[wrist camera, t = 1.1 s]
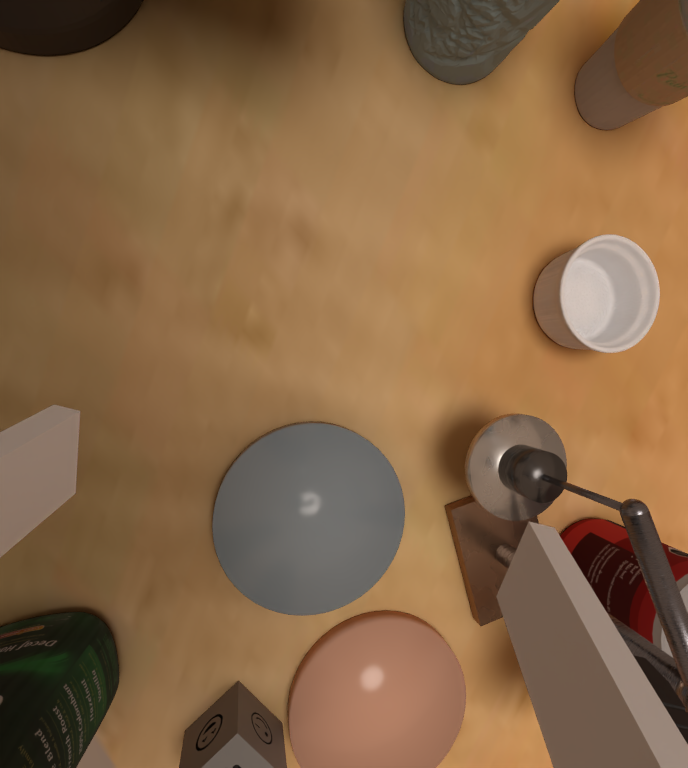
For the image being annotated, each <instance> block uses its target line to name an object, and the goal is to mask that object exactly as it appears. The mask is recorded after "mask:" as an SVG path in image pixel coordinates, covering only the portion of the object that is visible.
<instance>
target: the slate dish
mask: <svg viewBox="0 0 688 768" xmlns="http://www.w3.org/2000/svg"><path fill="white" fill-rule="evenodd" d="M404 518H405V508H404V498H403V493H402V489H401V486H400V483H399V480H398V477H397V475H396V473H395V471H394V469H393V467H392V466H391V464H390V463H389V461H388V460H387V458H386V457H385V456H384V455H383V454H382V453H381V452H380V451H379V449H377V448H376V447H375V446H374V445H373V444H372V443H370V442H369V441H368V440H366V439H365V438H363V437H361V436H360V435H358V434H357V433H355V432H353V431H351V430H349V429H347V428H344V427H341V426H338V425H335V424H331V423H325V422H300V423H294V424H290V425H285V426H282V427H280V428H277V429H274V430H272V431H270V432H268V433H266V434H264V435H263V436H261V437H259V438H258V439H257V440H255V441H254V442H252V443H251V444H250V445H249V446H248V447H247V448H246V449H244V450H243V451H242V452H241V453H240V455H239V456H238V457H237V458H236V459H235V460H234V462H233V463H232V465H231V466H230V468H229V469H228V471H227V472H226V474H225V476H224V479H223V481H222V483H221V485H220V488H219V491H218V494H217V498H216V502H215V508H214V513H213V528H212V529H213V540H214V545H215V549H216V554H217V556H218V559H219V561H220V564H221V566H222V568H223V570H224V571H225V573H226V575H227V577H228V578H229V579H230V581H231V582H232V583H233V584H234V586H235V587H236V588H237V589H238V590H239V591H240V592H241V593H242V594H243V595H245V596H246V597H247V598H249V599H250V600H252V601H253V602H255V603H257V604H258V605H260V606H262V607H264V608H267V609H269V610H272V611H275V612H279V613H284V614H288V615H315V614H320V613H326V612H329V611H332V610H335V609H338V608H341V607H343V606H345V605H347V604H349V603H351V602H353V601H354V600H356V599H357V598H359V597H361V596H362V595H363V594H364V593H366V592H367V591H368V590H369V589H371V588H372V587H373V586H374V585H375V583H376V582H377V581H378V580H379V579H380V578H381V577H382V575H383V574H384V573H385V572H386V570H387V569H388V567H389V565H390V564H391V562H392V561H393V559H394V556H395V554H396V552H397V550H398V547H399V544H400V541H401V538H402V533H403V528H404Z"/></svg>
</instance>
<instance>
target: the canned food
mask: <svg viewBox="0 0 688 768" xmlns="http://www.w3.org/2000/svg"><path fill="white" fill-rule="evenodd" d="M560 537H561V539H562V540H563V542H564V544H565V545H566V547H567V549H568V550H569V552H570V554H571V555H572V557H573V558H574V560H575V562H576V563H577V565H578V567H579V568H580V570H581V571H582V573H583V575H584V576H585V578H586V580H587V581H588V583H589V584H590V586H591V588H592V589H593V591H594V593H595V594H596V596H597V597H598V599H599V601H600V602H601V604H602V606H603V607H604V609H605V611H606V612H607V613H609V614H610V615H612V616H613V617H615V618H616V619H618V620H619V621H621V622H622V623H623V624H625V625H626V626H628V627H629V628H631V629H632V630H634V631H635V632H636V633H638V634H639V635H641V636H642V637H644V638H645V639H647V640H648V641H649V642H651V643H652V644H654V645H655V646H657V647H658V648H660V649H661V650H663V651H664V652H665V653H667V654H668V655H670V656H671V657H673V655H672V653H671V650H670V647H669V645H668V642H667V639H666V636H665V634H664V631H663V628H662V626H661V623H660V620H659V618H658V615H657V612H656V609H655V607H654V604H653V601H652V599H651V596H650V593H649V591H648V588H647V585H646V582H645V580H644V577H643V574H642V572H641V569H640V566H639V563H638V561H637V558H636V555H635V553H634V550H633V547H632V545H631V542H630V539H629V536H628V534H627V531H626V528H625V527H624V526H621V525H619V524H617V523H614V522H612V521H609V520H604V519H585V520H581V521H579V522H576V523H574V524H573V525H571V526H570V527H568V528H567V529H566V530H565V531H564V532H563V533H562V534H561V536H560ZM661 544H662V546H663V549H664V551H665V554H666V557H667V559H668V562H669V565H670V567H671V570H672V573H673V575H674V578H675V581H676V583H677V586H678V589H679V591H680V594H681V597H682V599H683V602H684V605H685V607H686V610H687V612H688V554H687V553H685V552H682V551H680V550H678V549H675V548H673V547H671V546H668V545H666V544H664V543H661Z"/></svg>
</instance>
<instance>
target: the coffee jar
mask: <svg viewBox="0 0 688 768" xmlns="http://www.w3.org/2000/svg"><path fill="white" fill-rule="evenodd" d="M118 683H119V664H118V658H117V651H116V647H115V643H114V640H113V637H112V635H111V632H110V630H109V629H108V627H107V626H106V624H105V623H104V622H103V621H101V620H100V619H99V618H98V617H96V616H94V615H92V614H89V613H85V612H68V613H59V614H52V615H46V616H40V617H35V618H31V619H27V620H23V621H19V622H15V623H12V624H9V625H6V626H3V627H0V768H76V767H77V765H78V763H79V761H80V760H81V758H82V756H83V754H84V753H85V751H86V749H87V747H88V745H89V744H90V742H91V740H92V739H93V737H94V735H95V733H96V731H97V730H98V728H99V726H100V724H101V722H102V720H103V719H104V717H105V715H106V713H107V711H108V709H109V707H110V705H111V703H112V700H113V698H114V696H115V694H116V691H117V688H118Z"/></svg>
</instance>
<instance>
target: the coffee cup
mask: <svg viewBox="0 0 688 768" xmlns="http://www.w3.org/2000/svg"><path fill="white" fill-rule="evenodd" d="M687 96H688V0H640V1H639V2H638V3H637V5H636V6H635V7H634V8H633V9H632V10H631V11H630V12H629V13H628V14H627V15H626V17H625V18H624V19H623V21H622V22H621V24H620V25H619V27H618V28H617V29H616V30H615V32H614V33H613V34H612V35H611V36H610V37H609V38H608V39H607V40H606V41H605V42H604V44H603V45H602V46H601V47H600V48H599V49H598V50H597V51H596V52H595V53H594V54H593V56H592V57H591V58H590V59H589V60H588V61H587V62H586V63H585V64H584V65H583V67H582V68H581V70H580V71H579V73H578V76H577V78H576V83H575V99H576V104H577V107H578V110H579V112H580V114H581V116H582V117H583V119H584V120H585V121H586V122H587V123H588V124H590V125H591V126H593V127H595V128H598V129H603V130H611V129H616V128H619V127H621V126H623V125H625V124H627V123H629V122H631V121H633V120H635V119H637V118H640V117H642V116H644V115H646V114H648V113H650V112H652V111H654V110H656V109H658V108H660V107H662V106H666V105H669V104H673V103H675V102H677V101H679V100H681V99H683V98H685V97H687Z"/></svg>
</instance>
